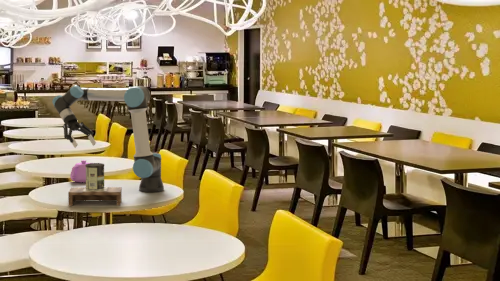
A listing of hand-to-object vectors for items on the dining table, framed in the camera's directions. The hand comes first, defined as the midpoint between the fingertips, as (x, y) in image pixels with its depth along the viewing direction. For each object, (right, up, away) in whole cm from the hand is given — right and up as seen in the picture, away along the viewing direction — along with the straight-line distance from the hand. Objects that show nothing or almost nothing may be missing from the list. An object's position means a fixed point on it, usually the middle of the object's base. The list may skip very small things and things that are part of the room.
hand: (85, 145), depth 405 cm
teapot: (-10, -24, +46) cm, 53 cm away
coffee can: (+10, -25, -18) cm, 32 cm away
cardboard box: (+10, -32, -17) cm, 38 cm away
